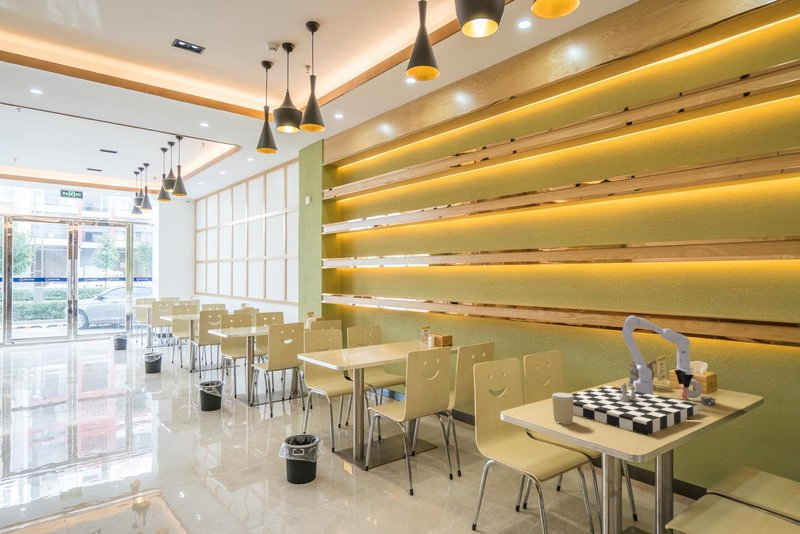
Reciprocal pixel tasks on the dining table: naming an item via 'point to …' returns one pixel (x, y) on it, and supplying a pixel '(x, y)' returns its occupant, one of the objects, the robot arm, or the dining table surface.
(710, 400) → the die
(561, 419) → the coffee cup
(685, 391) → the pawn
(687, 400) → the track board
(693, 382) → the donut
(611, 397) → the checkerboard
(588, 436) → the dining table surface
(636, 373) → the tankard
